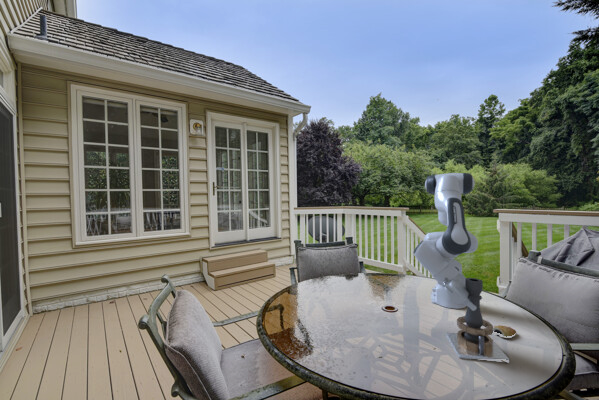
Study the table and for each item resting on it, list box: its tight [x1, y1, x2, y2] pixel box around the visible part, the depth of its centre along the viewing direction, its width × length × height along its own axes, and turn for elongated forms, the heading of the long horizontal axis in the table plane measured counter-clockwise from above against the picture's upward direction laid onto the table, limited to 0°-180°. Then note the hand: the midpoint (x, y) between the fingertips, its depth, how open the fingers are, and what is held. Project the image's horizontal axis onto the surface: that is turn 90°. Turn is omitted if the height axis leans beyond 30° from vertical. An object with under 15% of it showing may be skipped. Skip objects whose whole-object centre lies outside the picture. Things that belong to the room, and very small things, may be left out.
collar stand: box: [445, 315, 510, 361], centre depth 105 cm, size 16×16×10 cm
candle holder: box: [464, 277, 484, 343], centre depth 105 cm, size 6×6×25 cm
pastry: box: [493, 325, 517, 337], centre depth 115 cm, size 9×7×4 cm
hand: (476, 305), depth 104 cm, fingers open, 7 cm apart
